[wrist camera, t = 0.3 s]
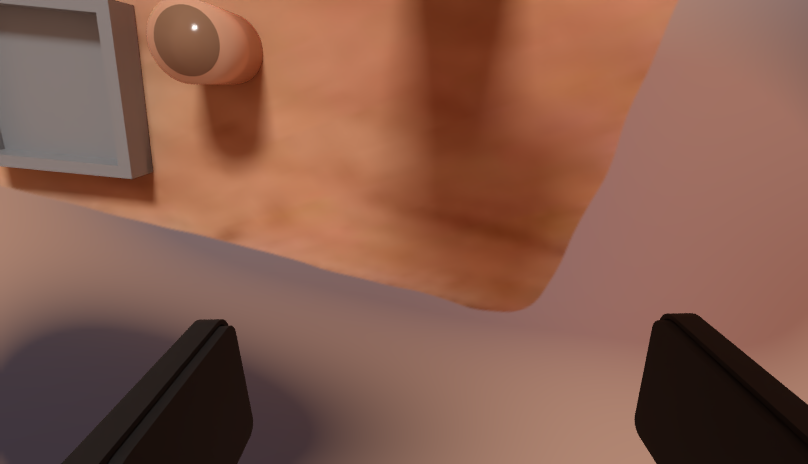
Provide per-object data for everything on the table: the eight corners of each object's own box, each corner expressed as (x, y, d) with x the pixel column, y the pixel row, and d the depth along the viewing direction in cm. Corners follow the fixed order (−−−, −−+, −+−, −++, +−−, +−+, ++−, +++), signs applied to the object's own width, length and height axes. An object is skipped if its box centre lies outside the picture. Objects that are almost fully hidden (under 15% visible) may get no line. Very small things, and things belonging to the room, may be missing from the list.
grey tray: (-36, -12, 39) (-77, -20, 36) (133, 5, 39) (107, -2, 36) (5, 157, 44) (-28, 163, 41) (153, 172, 44) (132, 178, 41)
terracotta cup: (194, 9, 39) (141, -9, 31) (262, 15, 39) (224, -1, 31) (199, 80, 41) (150, 80, 34) (263, 87, 41) (229, 87, 34)
